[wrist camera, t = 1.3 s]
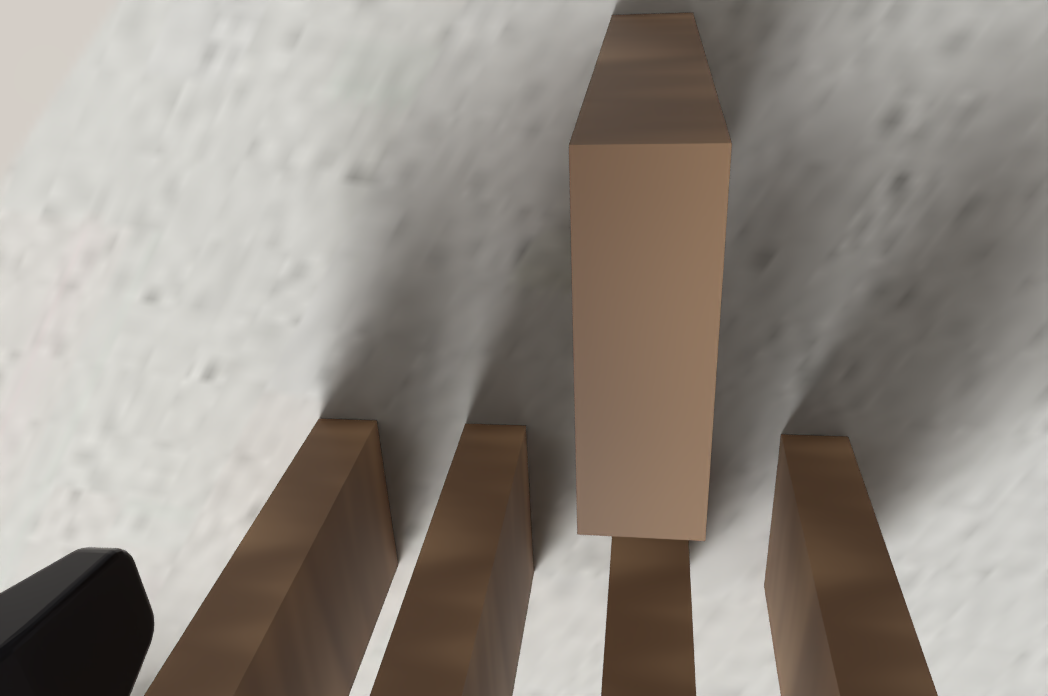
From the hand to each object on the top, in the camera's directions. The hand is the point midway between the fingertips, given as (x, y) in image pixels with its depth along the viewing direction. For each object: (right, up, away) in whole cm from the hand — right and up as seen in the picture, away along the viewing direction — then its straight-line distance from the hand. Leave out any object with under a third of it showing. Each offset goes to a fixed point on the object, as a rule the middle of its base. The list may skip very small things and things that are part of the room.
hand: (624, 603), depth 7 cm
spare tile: (+2, +7, +11) cm, 13 cm away
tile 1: (+6, -2, +15) cm, 17 cm away
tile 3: (-1, -2, +16) cm, 16 cm away
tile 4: (-5, -2, +17) cm, 18 cm away
